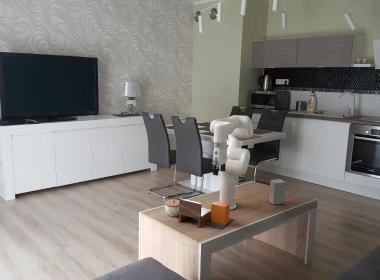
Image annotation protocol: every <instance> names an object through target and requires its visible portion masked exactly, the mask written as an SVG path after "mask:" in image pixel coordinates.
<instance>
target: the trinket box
mask: <svg viewBox="0 0 380 280" xmlns="http://www.w3.org/2000/svg"><path fill="white" fill-rule="evenodd" d="M164 210H165V213H167V214H168V216H170V217H177V216H178V217H179V199H167V200H165V201H164Z"/></svg>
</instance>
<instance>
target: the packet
mask: <svg viewBox="0 0 380 280" xmlns="http://www.w3.org/2000/svg"><path fill="white" fill-rule="evenodd" d="M210 206H211V207H210V210H211V220H210V221H211V222H213V223H217V224H221V225H226V224H227V223H228V222H229V218H230V211H231V210H230V204H227V203H223V202H219V200H215V201H214V202H212V203H211V204H210ZM227 225H228V224H227ZM227 225H226V226H227Z"/></svg>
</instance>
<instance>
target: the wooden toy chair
mask: <svg viewBox="0 0 380 280" xmlns="http://www.w3.org/2000/svg"><path fill="white" fill-rule="evenodd" d="M178 200H179V214H178V222H179V223H182V222H184V221H186V220H187V219H188V218H193V219H197V227H198V228H202V227H203V226H204V225H206V224H207V223H209V222H210V221H211V208H210V209H209V208H205V207H202V203H201V202H198V201H193V200H189V199H185V198H181V197H180V198H179V199H178Z"/></svg>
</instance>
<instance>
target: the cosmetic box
mask: <svg viewBox="0 0 380 280" xmlns="http://www.w3.org/2000/svg"><path fill="white" fill-rule="evenodd" d="M269 181H270V182H269V193H268V194H269V197H268V203H270V204H272V205H275V206H276V205H282V204H285V193H286V181H284V180H283V179H281V178H278V179H271V180H269Z"/></svg>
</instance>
